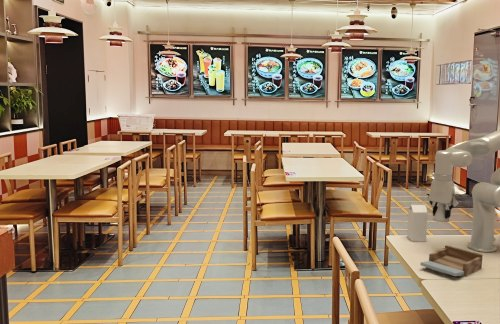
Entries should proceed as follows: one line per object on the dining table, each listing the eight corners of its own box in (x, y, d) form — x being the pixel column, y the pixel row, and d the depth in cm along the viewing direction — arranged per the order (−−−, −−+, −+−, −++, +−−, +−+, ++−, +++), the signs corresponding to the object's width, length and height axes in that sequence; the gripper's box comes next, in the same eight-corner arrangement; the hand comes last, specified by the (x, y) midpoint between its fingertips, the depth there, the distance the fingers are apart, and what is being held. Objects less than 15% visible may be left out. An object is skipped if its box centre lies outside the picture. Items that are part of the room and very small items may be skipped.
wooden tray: (445, 258, 210) (446, 245, 209) (481, 268, 198) (482, 254, 197) (428, 265, 201) (429, 251, 200) (465, 276, 189) (466, 262, 188)
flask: (451, 223, 211) (452, 201, 210) (433, 222, 213) (435, 200, 211) (447, 218, 218) (449, 197, 217) (431, 218, 220) (432, 197, 218)
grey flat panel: (429, 260, 200) (420, 262, 196) (464, 271, 189) (455, 273, 184) (428, 265, 201) (420, 266, 196) (463, 275, 189) (455, 277, 184)
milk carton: (425, 241, 233) (428, 204, 230) (411, 241, 233) (413, 204, 230) (421, 237, 240) (422, 201, 237) (407, 237, 240) (408, 201, 237)
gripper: (421, 176, 217) (419, 214, 219) (457, 181, 204) (455, 222, 206) (430, 174, 221) (428, 211, 224) (465, 179, 208) (463, 219, 211)
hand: (441, 216), depth 215 cm, fingers closed on flask, 5 cm apart
